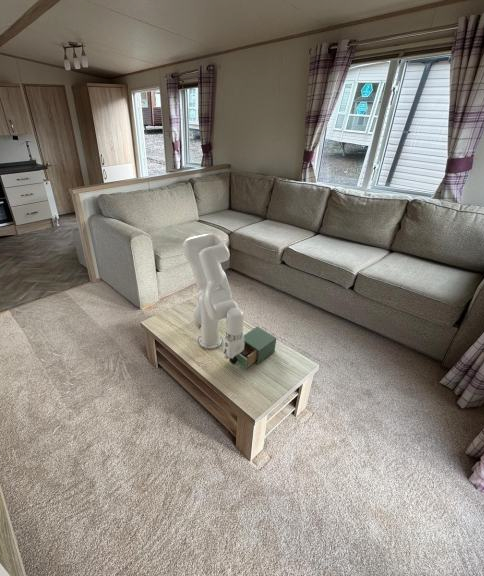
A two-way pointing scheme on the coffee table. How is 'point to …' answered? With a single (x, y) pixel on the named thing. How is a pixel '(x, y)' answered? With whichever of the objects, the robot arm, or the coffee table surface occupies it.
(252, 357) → the drawer
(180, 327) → the coffee table surface
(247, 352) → the block
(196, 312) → the soap bottle
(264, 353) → the cabinet
